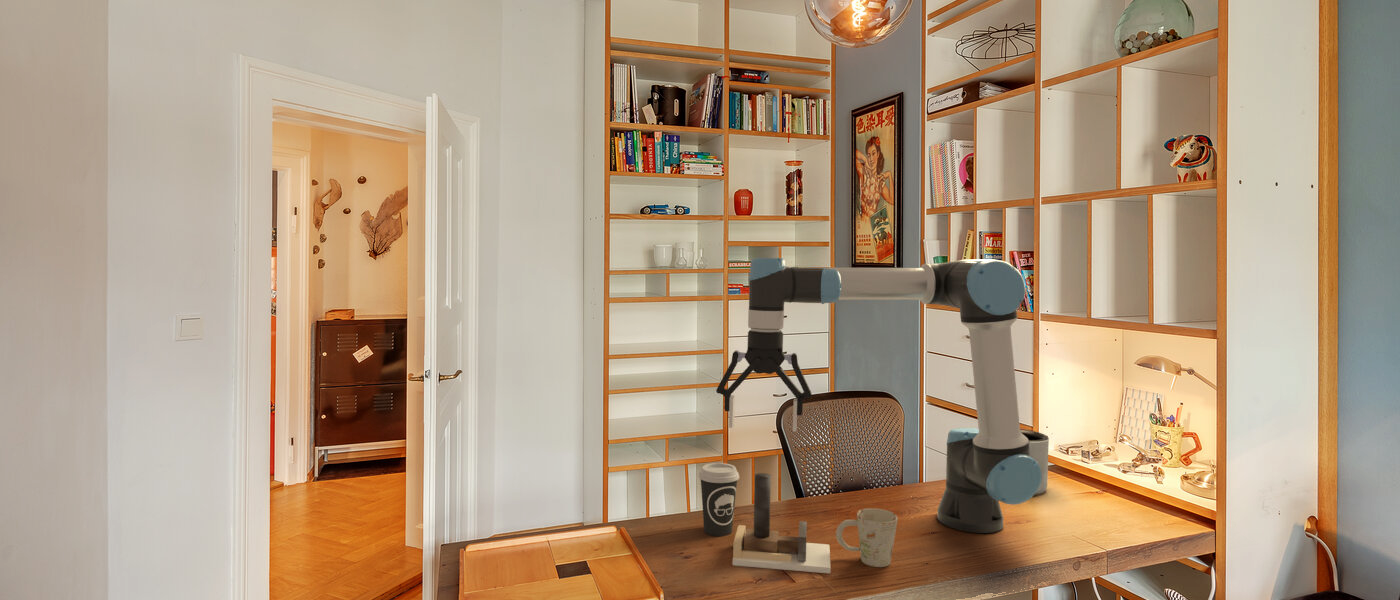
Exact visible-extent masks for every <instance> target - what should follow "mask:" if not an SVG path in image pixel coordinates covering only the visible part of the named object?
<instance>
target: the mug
mask: <svg viewBox="0 0 1400 600" xmlns="http://www.w3.org/2000/svg"><path fill="white" fill-rule="evenodd" d="M897 524H898V516H897V514H896V513H894V512H893V511H890V510H887V509H886V510H885V509H882V508H874V507H873V508H870V507H869V508H862V509H859V510H858V511H857V512H856V519H845V520H842V522H840V523H839V524H838V526H837V527H836V531H835V537H836V540H837V543H838V544H839V545H840V546H842V547H843V548H844V549H845V550H847V551H850V552H860V559H861V562H862V563H864V564H865V565H866V566H869V567H875V568H885V567H887V566H888V567H889V566H890V565H891V562H892V556H893V555H892V554H893V549H894V543H895V537H896V531H897ZM849 526H852V527H857V531H858V541H859V543H858V544H859V547H858V546H850V545H848V544H847V543H846V542H845V540H844V539H843V532H844V530H845V529H846V528H847V527H849Z"/></svg>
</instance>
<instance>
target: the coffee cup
mask: <svg viewBox="0 0 1400 600" xmlns="http://www.w3.org/2000/svg"><path fill="white" fill-rule="evenodd" d="M698 479H699V480H700V489H701V502H702V517H703V520H702V521H703V530H704V533H705V534H707V535H709V536H713V537H724V536H729V535H730V534H731V533H732V531H733V524H734V515H735V514H734V512H735V505H736V504H735V503H736V495H737V494H736V493H737V487H738V486H737V485H738V480H740V474H739V471H737V468H736V466H735V465H733V464H729V463H723V462H713V463H706V464H704V465H703V466H702V467H701V470H700V471H699V473H698Z"/></svg>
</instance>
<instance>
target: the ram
mask: <svg viewBox="0 0 1400 600" xmlns="http://www.w3.org/2000/svg"><path fill="white" fill-rule="evenodd" d="M771 475H772V474H769V473H766V472H765V473H764V472H758V473H755V474H754V502H753V503H754V505H753V510H754V511H753V528H746V533H745V537H744V551H756V552H768V553H777V552H778V551H784V552H796V553H798V561H806V543H807V531H808V529H807V528H808V526H807V525H808V522H807V521H802V520H799V523H798V525H799V526H798V536H788V535H780V534H779V533H780V531H779V530H771V527H770V526H771V493H772V492H771V485H772V484H771V483H772V476H771Z"/></svg>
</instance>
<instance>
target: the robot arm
mask: <svg viewBox="0 0 1400 600" xmlns="http://www.w3.org/2000/svg"><path fill="white" fill-rule="evenodd" d="M749 268H750V269H749V277H748V282H749V283H748V288H749V289H748V315H747V316H748V317H747V318H748V319H747V323H748V324H747V327H748V328H749V329H750V330H748V331H747V349H746V352H741V351H739V350H734V351H733V352H732V357H731V362H730V364H729V366H728V368H727V370H726V371H725V373H724V375H723V376H722V379H721V381H720V382H719V384H718V386H717V388H716V393H717V394H720V395H723V397H724V407H723V409H724V412H729V413H728V428H731V429H733V427H734V421H735V395H732V394H733V393H734V392H735V391H736V389H738V387H739V386H740V385H741V384H742V383H743V382H744V381H745V380H746V379H747V378H748V377H749V376H750V374H751V373H752V372H754V373H756V374H761V375H762V374H766V375H773V374H776V375H777V376H778V377H779V378H780V380H781V381H782V382H783V383H784V384H785V386H786V387H787V388H788V389H789V391H790V392H791V393H792V394H793V396H794V397H795V398H794V399H793V407H792V409H793V411H792V415H793V416H792V432H793V433H794V432H796V433H797V428H798V427H797V426H798V425H797V423H798V421H797V420H798V419H797V418H798V417H797V416H803V405H804V400H807V399H810V398H812V391H811V388H810V387H809V385H808V384H809V383H808V382H807V380H806V378H805V376H804V374H803V372H802V370H801V367H800V365H799V363H798V354H797V353H796V352H793V353H789V354H787V353H786V354H785V353H784V351H783V349H784V346H783V345H784V332H783V331H782V330H783V329H784V319H785V318H784V317H785V315H784V314H785V303H790V304H791V303H801V304H802V303H803V304H822V305H824V304H834V303H836V302H838V301H840V300H841V301H842V300H843V301H845V300H848V301H852V300H854V301H855V300H859V301H860V300H861V301H862V300H863V301H865V300H866V301H873V300H875V301H877V300H881V301H886V300H887V301H893V300H894V301H895V300H897V301H899V300H900V301H903V300H905V301H910V300H911V301H917V300H918V301H920V302H921V303H922V304H923V305H938V306H939V305H940V306H946V307H949V308H950V307H951V308H956V309H959V313H960V314H959V315H960V316H959V317H960V322H961V324H962V325H964V326H965V327H966V328H967V329H968V333H969V344H970V352H971V353H970V354H971V364H972V372H973V374H972V375H973V383H974V384H973V385H974V394H975V395H974V396H975V406H976V415H977V423H978V424H977V425H978V428H976V427H975V428H973V427H960V428H953V429H952V428H951V430H950V431H948V434H947V441H946V466H945V467H946V468H945V473H946V474H945V476H946V477H945V490H944V491H943V493H942V495H941V496H942V497H941V499H940V502H939V504H938V507H937V515H936V516H937V517H936V518H937V520H938V521H939V523H941V524H942V525H945V526H946V527H948V528H952V529H954V530H958V531H961V532H967V533H975V534H989V533H996V532H999V531H1001V530H1002V529H1004V514H1003V512H1002V509H1001V505H1000V502H1001V503H1003V504H1006V505H1013V506H1014V505H1020V504H1023V503H1026V502H1027V501H1029V500H1030V499H1032V498H1033V496H1035V495H1034V493H1036V492H1037V491H1038V489H1039V487H1040V485H1041V481H1042V471H1041V468H1040V466H1039V464H1038V463H1037V462H1036V461H1035V459H1033V458H1032V457H1030V451H1029V441H1028V438H1027V437H1025V436H1024V435H1023V434H1022V433H1021V432H1020V429H1021V426H1020V417H1019V415H1020V413H1019V407H1018V405H1019V404H1018V394H1017V382H1016V371H1015V362H1014V361H1015V360H1014V350H1013V339H1012V325H1013V324H1014V323H1015V322H1016V321H1017V320H1018V311H1017V310H1018V308H1020V305H1021V303H1022V302H1023V301H1024V299H1025V294H1026V285H1025V281H1024V278H1023V276H1022V274H1021V273H1020V271H1019V270H1018V269H1017V268H1016V267H1015V266H1013V264H1011V263H1009V262H1007V261H1004V260H999V259H995V258H984V259H961V260H953V261H946V262H939V263H923V264H922V265H921V266H920V267H799V266H792V267H790V266H787V265H786V259H784V258H782V257H781V258H780V257H755V258H753V259H752V260H751V261H750V267H749ZM743 359H745V361H746V363H748V366H747V367H746V368H745V370H743V372H741V373H740V375H739V376H738V377H737V378H736V379H735V381H733V383H731V385H730V386H729V387H728V388H725V387H726V385H727V383H728V381H729V379H730V377H731V376H732V374H733V372H734V370H735V369H736V366H737V365H738V363H741V361H742V360H743ZM784 361H787V363H788V364H789V365H791V366H792V370H793V371H794V374H795V375H796V378H797V380H798V382H799V385H800V387H801V388H802V390H803V391H800V390H799V388H798V387H797V385H795V383H794V382H793V380H791V378H790V377H789V376H788V375H787V372H785V371H784V369H783V368H782V366H781V365H782V363H784Z"/></svg>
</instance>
